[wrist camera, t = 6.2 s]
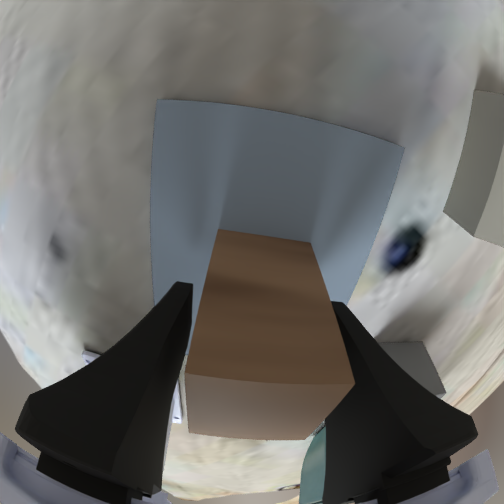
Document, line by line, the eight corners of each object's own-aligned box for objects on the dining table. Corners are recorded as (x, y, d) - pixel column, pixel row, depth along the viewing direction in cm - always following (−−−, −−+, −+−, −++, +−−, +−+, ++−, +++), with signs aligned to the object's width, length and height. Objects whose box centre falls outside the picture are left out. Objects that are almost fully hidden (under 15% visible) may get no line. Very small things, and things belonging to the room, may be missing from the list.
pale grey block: (480, 224, 12) (509, 249, 9) (440, 209, 12) (473, 236, 9) (509, 121, 8) (545, 133, 6) (470, 89, 8) (511, 95, 5)
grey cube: (391, 379, 19) (407, 427, 15) (341, 382, 19) (353, 436, 15) (421, 340, 17) (446, 392, 12) (369, 341, 16) (390, 403, 12)
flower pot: (358, 436, 27) (368, 495, 19) (293, 442, 26) (297, 507, 18) (393, 405, 22) (412, 476, 15) (318, 413, 22) (328, 498, 14)
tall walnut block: (288, 310, 14) (304, 439, 8) (210, 300, 13) (188, 432, 7) (310, 242, 12) (355, 383, 6) (218, 229, 11) (184, 372, 5)
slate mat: (312, 360, 17) (314, 367, 16) (161, 343, 16) (159, 350, 16) (398, 145, 10) (404, 147, 9) (161, 99, 9) (157, 99, 9)
